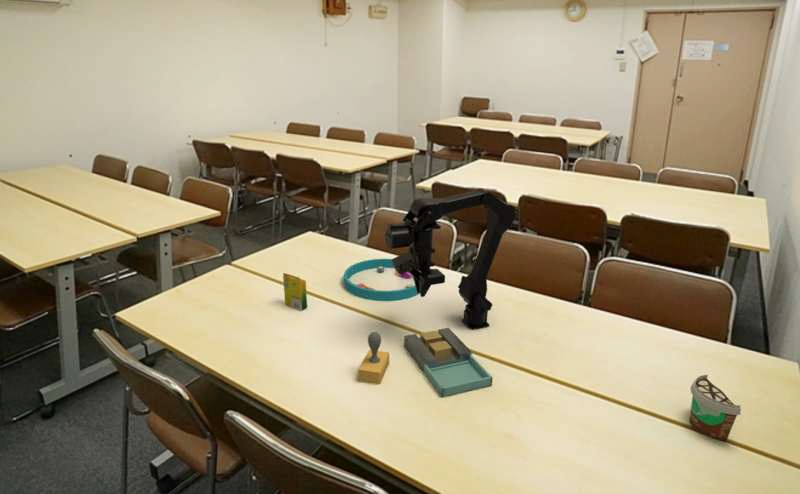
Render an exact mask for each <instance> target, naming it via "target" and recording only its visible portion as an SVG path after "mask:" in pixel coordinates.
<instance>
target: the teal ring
mask: <svg viewBox="0 0 800 494" xmlns="http://www.w3.org/2000/svg"><path fill="white" fill-rule="evenodd" d="M392 259H393V258H373V259H367V260H362V261H359V262H355V263H354V264H352V265H350V266H348V268H346V269H345V270H344V273H343V285H344V289H346V291H347V292H348V293H349V294H352V295H353V296H355V297H357V298H360V299H365V300H369V301H375V302H395V301H403V300H408V299H410V298H413V297H416V296H419V295H420V293H417V290H416V286H415V285H413V284H411V283H408V284H405V285H404V287H406V288H401V289H394V290H393V289H392V290H378V289H375V288H372V287H370V286H367V285H366V284H365V283H353V282H352V281H350V278H352V277H353V276H354V275H356V274H358V273H360V272H363V271H367V270H372V269H376V270H377V272H378V273H384V271H385V269H394V273H395V275H396V276H397V277H398V276H399V277H404V278H409V277H410V276H413V275H412V274H411V273H410V272H409V271H408V272H405V273H403V274H399V273H398V272H397V271H396V270H395V268H394V265H393V262H392Z"/></svg>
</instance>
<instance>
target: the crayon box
mask: <svg viewBox="0 0 800 494" xmlns="http://www.w3.org/2000/svg"><path fill="white" fill-rule="evenodd" d="M282 275H283V276H282V277H283V279H282V280H283V291H284V293H283V295H284V306H286V307H289V308H293V309H296V310H299V311H300V312H302V311H305V310H306V309H307V308H308V299H307V297H308V295H307V294H308V293H307V281H306V280H305V279H301V277H299V276H295V275H292V274H289V273H285V272H283V274H282Z"/></svg>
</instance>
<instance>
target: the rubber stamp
mask: <svg viewBox="0 0 800 494" xmlns="http://www.w3.org/2000/svg"><path fill="white" fill-rule="evenodd" d="M367 344H368V346H369V348H370V349H369V350H368V351H367V353H366V355H365V356H364V359H362V362H361V364H360V366H359V368H358V372H357V373H358V382H359V381H361V382H360V383H366V382H367V383H366V384H372V383H373V385H380V384H381V383H382V380H383V379H384V376H385V373H386V372H387V369H388V368H389V365H390V352H389V351H383V350H379V349H380V346H381V344H382V336H381V334H380V333H379V332H377V331H372V332H371V333H369V334H368V336H367Z"/></svg>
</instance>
